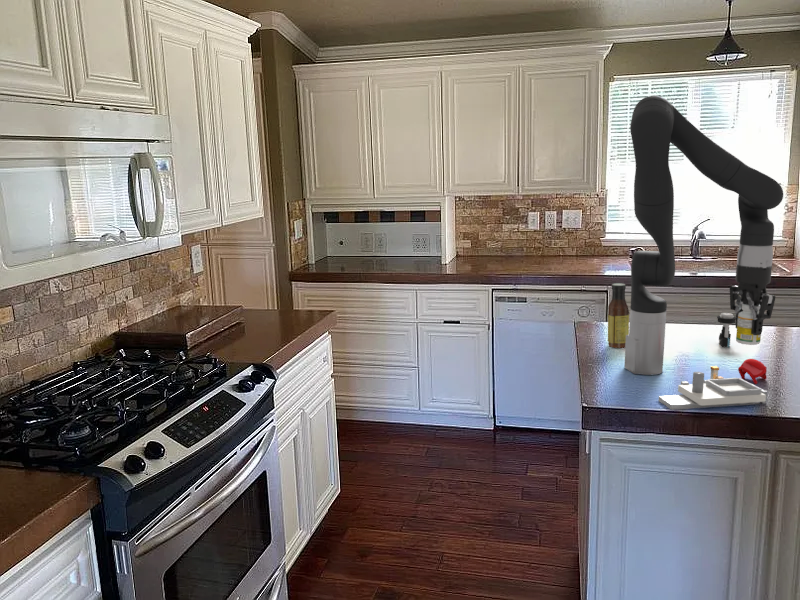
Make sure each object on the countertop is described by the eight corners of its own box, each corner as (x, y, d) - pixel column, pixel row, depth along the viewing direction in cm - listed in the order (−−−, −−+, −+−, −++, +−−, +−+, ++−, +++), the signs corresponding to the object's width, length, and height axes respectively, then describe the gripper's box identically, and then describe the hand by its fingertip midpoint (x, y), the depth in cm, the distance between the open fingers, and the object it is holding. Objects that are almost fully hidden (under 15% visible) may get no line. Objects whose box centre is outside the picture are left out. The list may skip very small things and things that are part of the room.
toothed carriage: (700, 405, 152) (702, 380, 151) (675, 389, 163) (677, 366, 162) (765, 401, 154) (767, 376, 153) (736, 385, 165) (738, 362, 164)
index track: (671, 409, 154) (672, 384, 153) (647, 393, 165) (648, 369, 164) (766, 403, 157) (768, 379, 155) (736, 387, 168) (738, 364, 167)
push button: (712, 341, 210) (714, 311, 208) (730, 342, 209) (733, 311, 207) (717, 347, 204) (719, 315, 202) (735, 348, 203) (738, 316, 201)
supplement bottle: (743, 345, 160) (746, 306, 158) (731, 340, 165) (734, 302, 163) (765, 344, 160) (768, 306, 158) (752, 339, 165) (755, 301, 163)
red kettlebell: (753, 375, 168) (771, 361, 168) (734, 361, 172) (753, 348, 173) (755, 393, 172) (773, 380, 173) (737, 380, 177) (755, 367, 177)
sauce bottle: (631, 346, 207) (635, 283, 203) (622, 350, 202) (626, 286, 198) (612, 342, 211) (614, 281, 207) (602, 346, 207) (605, 284, 203)
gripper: (721, 259, 165) (716, 325, 168) (759, 268, 151) (753, 339, 155) (749, 258, 166) (743, 324, 169) (789, 267, 152) (782, 338, 156)
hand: (748, 331), depth 162 cm, fingers closed on supplement bottle, 5 cm apart
